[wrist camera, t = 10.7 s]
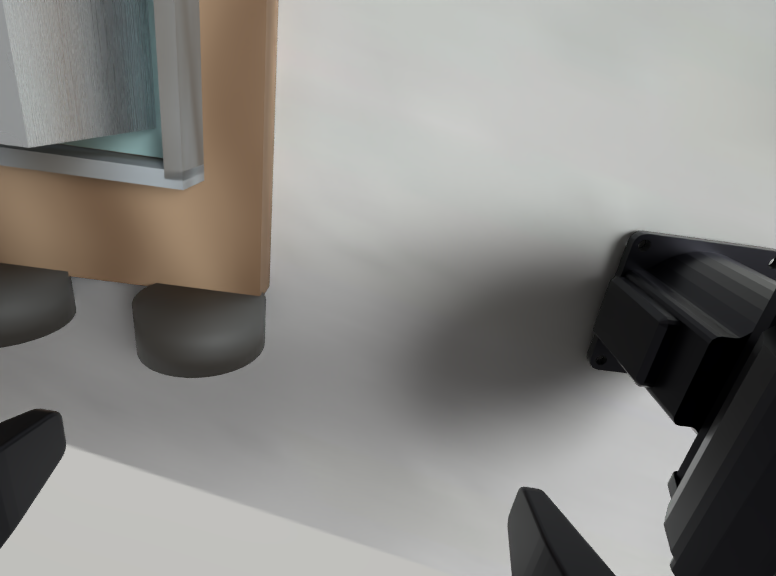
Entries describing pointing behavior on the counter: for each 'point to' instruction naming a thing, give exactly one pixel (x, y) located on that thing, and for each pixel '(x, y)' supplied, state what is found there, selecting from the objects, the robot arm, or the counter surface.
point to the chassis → (159, 200)
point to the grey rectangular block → (74, 70)
